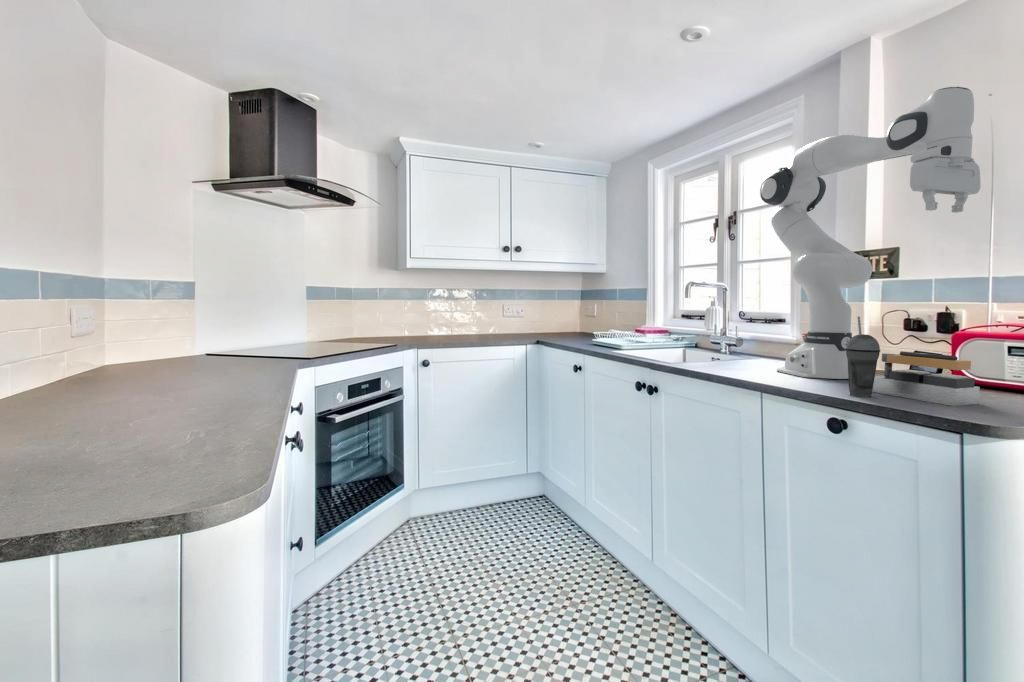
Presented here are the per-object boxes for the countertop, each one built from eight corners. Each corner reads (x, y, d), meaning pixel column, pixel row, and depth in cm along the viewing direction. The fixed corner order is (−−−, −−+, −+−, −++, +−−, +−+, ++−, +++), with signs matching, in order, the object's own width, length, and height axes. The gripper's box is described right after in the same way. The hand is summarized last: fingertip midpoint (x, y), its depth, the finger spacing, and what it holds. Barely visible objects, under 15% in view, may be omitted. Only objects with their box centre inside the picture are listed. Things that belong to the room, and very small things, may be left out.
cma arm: (876, 361, 131) (877, 349, 131) (889, 360, 133) (889, 349, 132) (957, 370, 114) (958, 357, 113) (970, 369, 115) (971, 356, 115)
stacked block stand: (868, 391, 132) (869, 362, 131) (890, 389, 134) (891, 361, 134) (954, 406, 113) (956, 372, 112) (978, 404, 115) (980, 371, 115)
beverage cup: (876, 399, 120) (880, 317, 119) (840, 395, 125) (844, 316, 124) (879, 395, 126) (884, 316, 124) (845, 392, 131) (849, 315, 129)
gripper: (961, 161, 130) (958, 215, 131) (905, 154, 124) (902, 211, 125) (990, 154, 124) (987, 211, 125) (933, 147, 118) (930, 206, 119)
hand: (944, 211), depth 125 cm, fingers open, 8 cm apart
